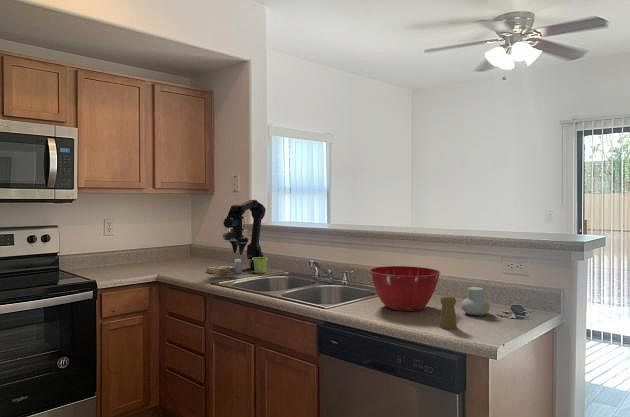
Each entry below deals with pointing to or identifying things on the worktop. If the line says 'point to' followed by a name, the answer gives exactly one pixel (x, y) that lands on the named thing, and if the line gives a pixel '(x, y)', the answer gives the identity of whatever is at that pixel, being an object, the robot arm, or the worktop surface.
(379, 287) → the mixing bowl
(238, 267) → the plug
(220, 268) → the socket block
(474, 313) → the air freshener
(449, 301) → the cork
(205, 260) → the worktop surface
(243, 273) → the pad
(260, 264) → the plant pot
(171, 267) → the worktop surface
